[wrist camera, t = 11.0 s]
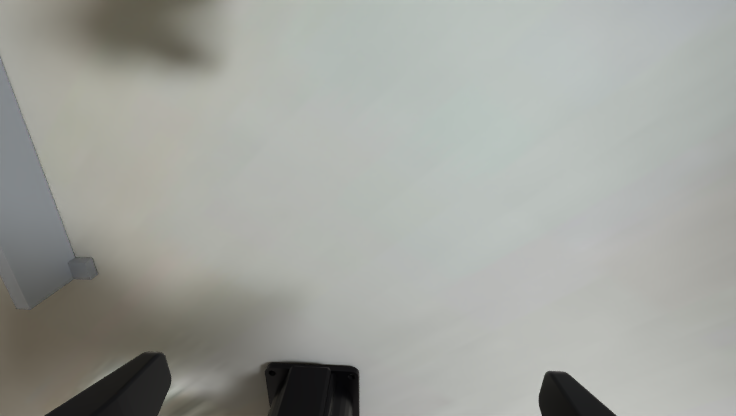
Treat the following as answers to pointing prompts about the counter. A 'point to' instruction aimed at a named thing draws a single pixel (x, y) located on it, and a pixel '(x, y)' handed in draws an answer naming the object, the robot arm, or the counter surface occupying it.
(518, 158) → the counter surface
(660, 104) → the counter surface
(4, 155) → the grey barrier wall
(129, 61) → the counter surface
